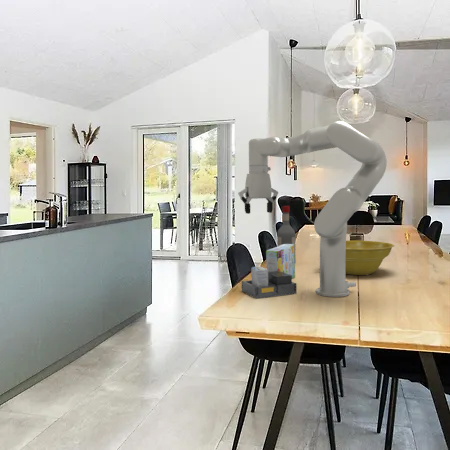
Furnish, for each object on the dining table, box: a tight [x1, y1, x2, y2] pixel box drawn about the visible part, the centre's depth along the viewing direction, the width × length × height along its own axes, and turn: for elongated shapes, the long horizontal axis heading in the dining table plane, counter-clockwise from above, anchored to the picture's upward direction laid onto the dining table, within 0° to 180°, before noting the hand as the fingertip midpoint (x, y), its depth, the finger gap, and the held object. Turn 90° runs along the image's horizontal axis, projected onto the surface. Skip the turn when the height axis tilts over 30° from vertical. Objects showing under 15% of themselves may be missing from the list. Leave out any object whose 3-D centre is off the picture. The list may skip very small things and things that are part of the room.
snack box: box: [265, 244, 296, 279], centre depth 201 cm, size 21×6×15 cm, turn 152°
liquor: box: [276, 205, 296, 254], centre depth 243 cm, size 9×9×30 cm
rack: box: [241, 271, 298, 299], centre depth 181 cm, size 17×13×7 cm
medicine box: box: [250, 266, 268, 287], centre depth 180 cm, size 8×4×9 cm, turn 13°
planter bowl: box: [346, 240, 395, 276], centre depth 217 cm, size 32×32×13 cm
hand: (258, 212), depth 189 cm, fingers open, 9 cm apart
